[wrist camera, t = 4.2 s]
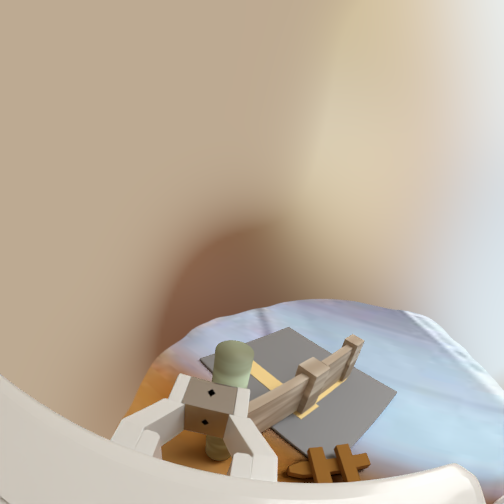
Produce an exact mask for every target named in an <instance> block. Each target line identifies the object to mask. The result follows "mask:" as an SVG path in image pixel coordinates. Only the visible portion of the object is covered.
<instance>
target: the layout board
mask: <svg viewBox="0 0 504 504" xmlns="http://www.w3.org/2000/svg"><path fill="white" fill-rule="evenodd" d="M245 344H247V345H249V346H250V347H251V348H252V349H253V351H254V358H253V363H252V368H251V372H250V377H249V381H248V386H247V389H250V398H249V402H250V401H252V400H254V399H256V398H258V397H259V396H261V395H263V394H265V393H267V392H269V391H271V390H273V389H275V388H276V387H278V386H280V385H282V384H284V383H285V382H287V381H289V380H291V379H292V378H294V377H295V374H296V371H297V368H298V365H299V364H301V363H303V362H305V361H306V360H308V359H310V358H312V357H314V358H316V359H318V360H319V361H322V360H324V359H325V358H327V357H329V356H330V355H332V354H331V353H330V352H328V351H326V350H325V349H323V348H322V347H320V346H318V345H317V344H315V343H313V342H312V341H310V340H309V339H307V338H305V337H304V336H302V335H301V334H299V333H297V332H296V331H294V330H293V329H291V328H290V327H287V328H285V329H282V330H280V331H277V332H274V333H272V334H269V335H267V336H264V337H261V338H258V339H256V340H253V341H250V342H247V343H245ZM214 359H215V354H212V355H209V356H206V357H203V358H200V360H201V362H202V363H203V364H204V365H205V366H206V367H207V368H208V369H209V370H210V371H211V372H212V373H213V367H214ZM396 393H397V391H395V390H393V389H391V388H389V387H388V386H386V385H384V384H382V383H381V382H379V381H377V380H375V379H374V378H372V377H370V376H368V375H367V374H365V373H363V372H362V371H360V370H358V369H356V368H355V367H353V369H352V371H351V373H350V376H349V377H348V378H346V379H345V380H344V381H343V382H341V381H340V380H339V381H338V382H336V383H335V384H334V385H333V386H331V387H330V388H329V389H327V390H326V391H325V392H323V393H322V394H321V395H319V396H318V399H317V401H316V403H315V405H314V406H312V407H311V408H310V409H308V410H307V411H305V412H304V413H303V414H300V413H299V412H297V411H295V412H293V413H292V414H290V415H289V416H287V417H286V418H284V419H283V420H281V421H280V422H278V423H276V424H275V425H273V426H271V428H272V429H273V430H274V431H275V432H276V433H278V434H279V435H280V436H281V437H282V438H284V439H285V440H286V441H287V442H289V443H290V444H291V445H292V446H294V447H295V448H296V449H297V450H299V451H300V452H301V453H302V454H304V455H305V456H306V457H308V455H307V450H308V449H309V448H313V447H323V451H324V454H325V457H326V459H333V458H336V455H335V452H334V448H335V446H336V445H341V444H349V447H350V448H351V447H352V446H353V445H354V444H355V443H356V442H357V441H358V440H359V439H360V437H361V436H362V435H363V434H364V433H365V432H366V431H367V430H368V428H369V427H370V426H371V425H372V424H373V423H374V421H375V420H376V419H377V418H378V417H379V415H380V414H381V413H382V412H383V410H384V409H385V408H386V407H387V405H388V404H389V403H390V401H391V400H392V399H393V397H394V396H395V395H396Z"/></svg>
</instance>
